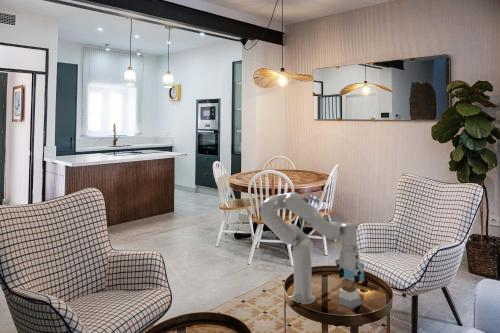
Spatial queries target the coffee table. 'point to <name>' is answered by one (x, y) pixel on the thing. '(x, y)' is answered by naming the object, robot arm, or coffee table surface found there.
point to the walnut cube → (348, 285)
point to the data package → (351, 274)
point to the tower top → (349, 294)
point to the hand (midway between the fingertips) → (349, 279)
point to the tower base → (350, 302)
